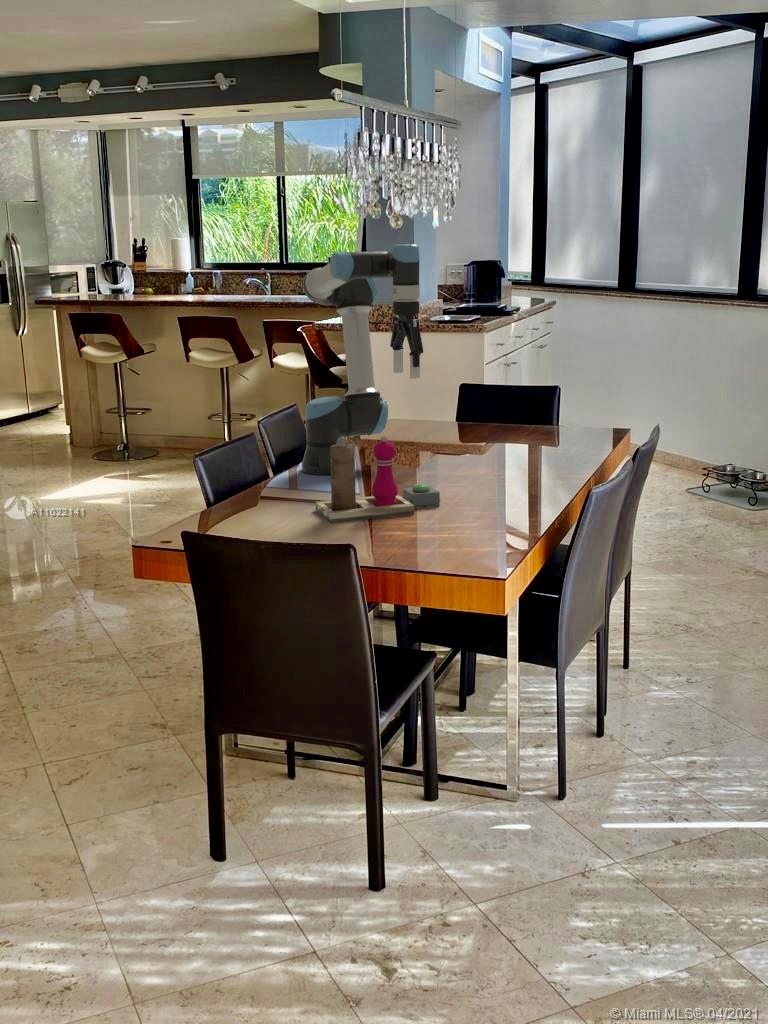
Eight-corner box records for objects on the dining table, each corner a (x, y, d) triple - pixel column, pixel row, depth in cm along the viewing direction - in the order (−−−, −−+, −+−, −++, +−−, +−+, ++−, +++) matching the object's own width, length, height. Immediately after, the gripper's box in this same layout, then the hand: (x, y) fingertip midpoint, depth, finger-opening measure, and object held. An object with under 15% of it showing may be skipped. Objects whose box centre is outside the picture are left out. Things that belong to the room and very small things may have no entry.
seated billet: (328, 509, 293) (326, 435, 288) (351, 506, 295) (350, 434, 290) (335, 514, 287) (334, 440, 282) (358, 512, 289) (357, 438, 284)
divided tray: (315, 510, 296) (315, 501, 295) (396, 502, 304) (396, 493, 303) (330, 522, 283) (330, 513, 283) (414, 514, 291) (414, 505, 290)
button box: (403, 501, 304) (403, 488, 303) (429, 499, 307) (429, 485, 306) (413, 508, 297) (413, 494, 296) (439, 505, 300) (439, 491, 299)
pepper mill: (383, 502, 300) (382, 432, 295) (403, 506, 296) (402, 435, 291) (366, 507, 295) (365, 436, 290) (386, 511, 290) (386, 439, 285)
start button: (410, 498, 303) (410, 484, 302) (425, 496, 305) (425, 483, 304) (416, 502, 299) (416, 488, 298) (432, 500, 300) (432, 486, 299)
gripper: (379, 298, 311) (379, 370, 316) (409, 303, 288) (409, 381, 294) (403, 297, 313) (403, 369, 319) (435, 302, 290) (434, 380, 296)
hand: (406, 375), depth 306 cm, fingers open, 13 cm apart
